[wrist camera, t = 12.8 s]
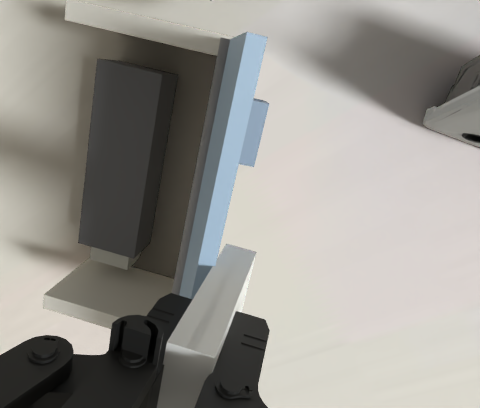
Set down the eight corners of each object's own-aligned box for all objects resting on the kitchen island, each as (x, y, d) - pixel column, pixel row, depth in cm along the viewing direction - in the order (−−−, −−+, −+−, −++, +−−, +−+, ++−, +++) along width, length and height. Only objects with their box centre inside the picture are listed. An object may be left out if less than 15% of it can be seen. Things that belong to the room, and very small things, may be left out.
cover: (233, 28, 12) (284, 41, 12) (220, 37, 19) (251, 45, 19) (143, 473, 17) (179, 475, 17) (160, 347, 24) (185, 350, 25)
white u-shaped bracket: (120, 15, 26) (66, -2, 20) (259, 48, 25) (243, 39, 19) (91, 266, 31) (42, 308, 26) (203, 299, 31) (178, 349, 25)
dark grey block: (120, 60, 27) (97, 58, 24) (178, 75, 26) (162, 74, 23) (97, 244, 31) (76, 261, 28) (147, 258, 31) (131, 277, 28)
